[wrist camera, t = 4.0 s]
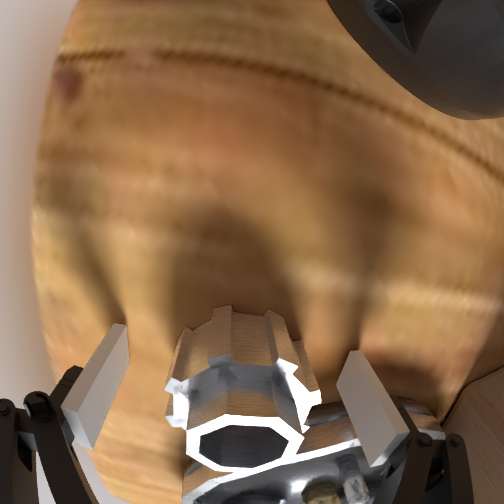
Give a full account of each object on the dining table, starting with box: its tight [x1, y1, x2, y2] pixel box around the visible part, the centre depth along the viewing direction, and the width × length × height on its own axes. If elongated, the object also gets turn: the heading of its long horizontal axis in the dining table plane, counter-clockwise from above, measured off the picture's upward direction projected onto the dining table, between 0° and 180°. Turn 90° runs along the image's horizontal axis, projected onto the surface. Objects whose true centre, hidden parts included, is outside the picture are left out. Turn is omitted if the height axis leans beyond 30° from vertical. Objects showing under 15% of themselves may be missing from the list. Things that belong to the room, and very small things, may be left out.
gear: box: [164, 305, 321, 473], centre depth 12 cm, size 7×7×6 cm
